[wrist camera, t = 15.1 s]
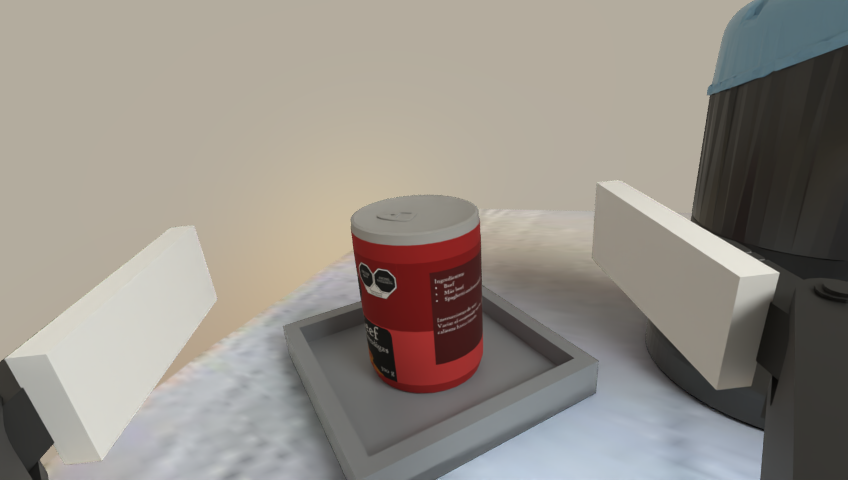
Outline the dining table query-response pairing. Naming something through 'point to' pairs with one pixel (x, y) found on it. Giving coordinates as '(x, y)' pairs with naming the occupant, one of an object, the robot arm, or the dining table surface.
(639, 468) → the dining table surface
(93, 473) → the dining table surface
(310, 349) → the tray
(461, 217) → the canned food
